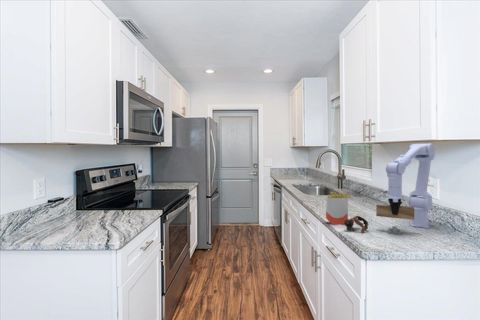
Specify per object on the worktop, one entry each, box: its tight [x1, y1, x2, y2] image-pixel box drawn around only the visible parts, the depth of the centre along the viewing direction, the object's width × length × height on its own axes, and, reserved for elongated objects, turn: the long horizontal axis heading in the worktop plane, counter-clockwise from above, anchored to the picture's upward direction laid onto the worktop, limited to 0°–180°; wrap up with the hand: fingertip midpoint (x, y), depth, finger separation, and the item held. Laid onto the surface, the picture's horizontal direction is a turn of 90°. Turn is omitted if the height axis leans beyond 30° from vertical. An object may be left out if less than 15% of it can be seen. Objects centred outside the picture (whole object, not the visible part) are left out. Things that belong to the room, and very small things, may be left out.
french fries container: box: [325, 191, 349, 226], centre depth 145 cm, size 5×11×18 cm, turn 84°
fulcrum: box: [388, 225, 402, 236], centre depth 128 cm, size 7×5×2 cm
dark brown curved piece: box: [343, 215, 369, 233], centre depth 132 cm, size 12×10×8 cm
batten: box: [375, 203, 414, 221], centre depth 128 cm, size 4×16×6 cm, turn 61°
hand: (394, 214), depth 128 cm, fingers closed on batten, 3 cm apart
